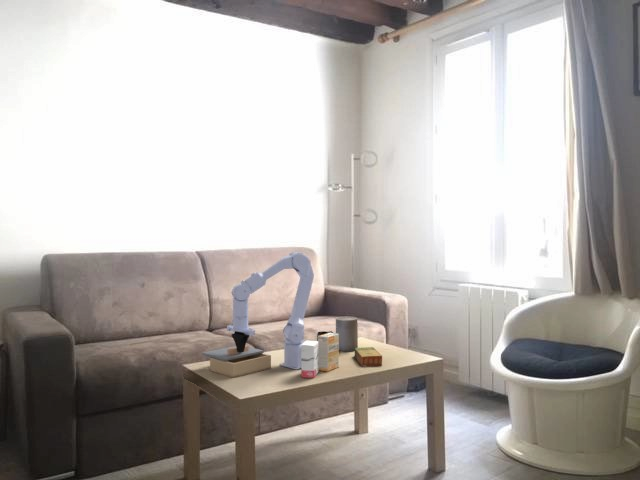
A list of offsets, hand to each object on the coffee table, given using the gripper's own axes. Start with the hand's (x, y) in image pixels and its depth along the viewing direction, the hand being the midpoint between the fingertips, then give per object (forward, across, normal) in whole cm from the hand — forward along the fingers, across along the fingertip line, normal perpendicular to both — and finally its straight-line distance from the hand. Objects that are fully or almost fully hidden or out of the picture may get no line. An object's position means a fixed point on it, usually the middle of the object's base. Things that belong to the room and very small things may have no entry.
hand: (240, 352), depth 211 cm
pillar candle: (+7, +6, +54) cm, 55 cm away
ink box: (+7, +24, +13) cm, 28 cm away
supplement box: (+7, +23, +24) cm, 34 cm away
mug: (+7, +13, +33) cm, 36 cm away
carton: (+7, +26, +44) cm, 52 cm away
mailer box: (+7, 0, 0) cm, 7 cm away
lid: (+1, -5, 0) cm, 5 cm away
